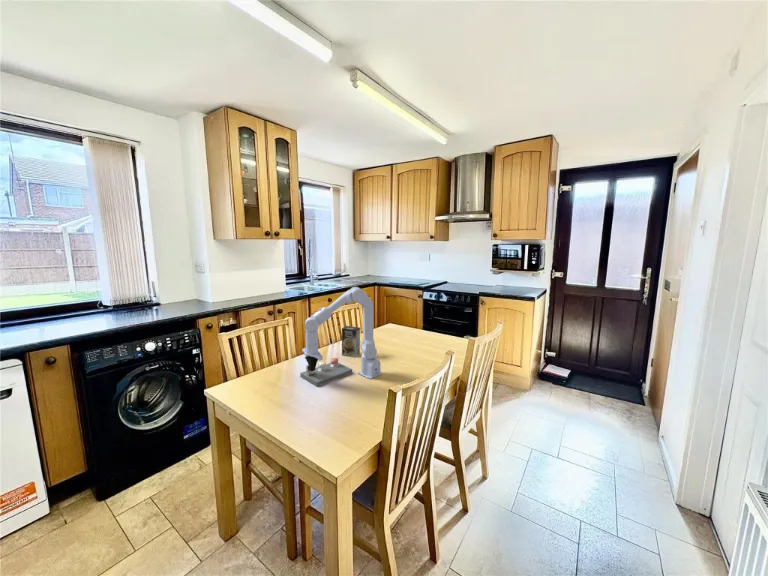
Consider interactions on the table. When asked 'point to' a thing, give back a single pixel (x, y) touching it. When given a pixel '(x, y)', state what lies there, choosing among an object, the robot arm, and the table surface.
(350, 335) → the coffee box
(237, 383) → the table surface
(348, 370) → the control panel
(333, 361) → the red button
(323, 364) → the white button
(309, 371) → the grey square block
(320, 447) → the table surface
